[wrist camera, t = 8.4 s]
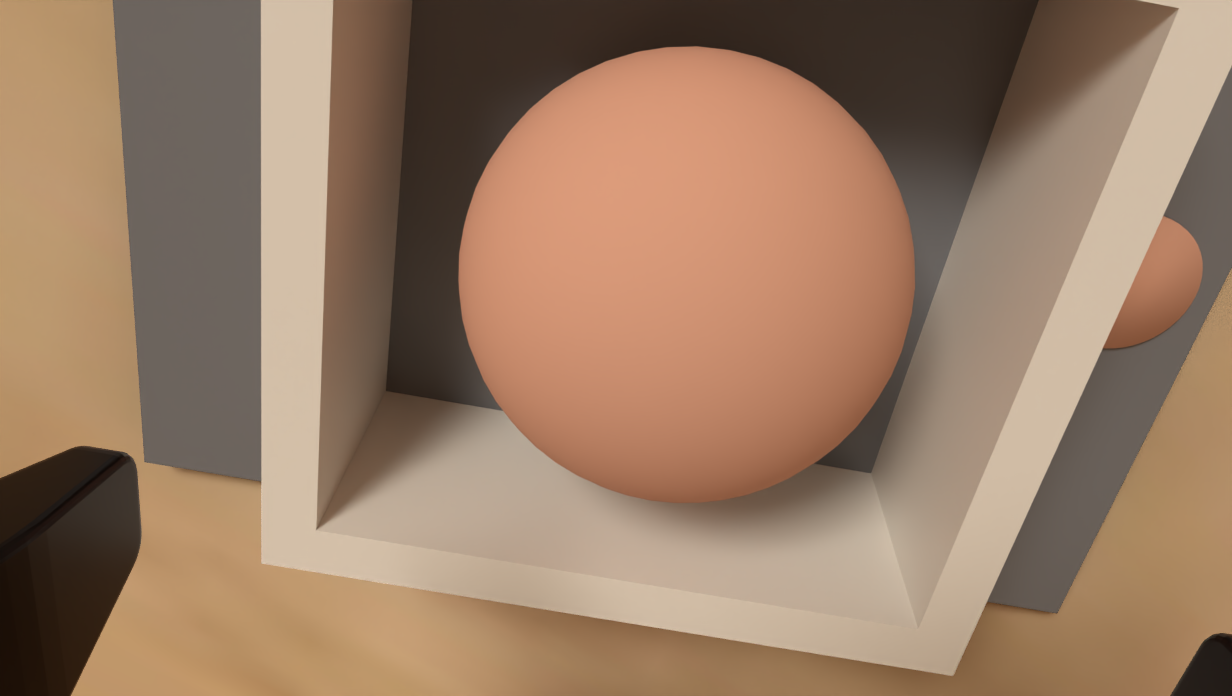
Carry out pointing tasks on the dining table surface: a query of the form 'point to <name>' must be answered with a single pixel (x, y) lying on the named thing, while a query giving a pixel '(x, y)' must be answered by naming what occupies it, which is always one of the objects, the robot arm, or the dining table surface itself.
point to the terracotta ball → (686, 274)
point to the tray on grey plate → (579, 509)
